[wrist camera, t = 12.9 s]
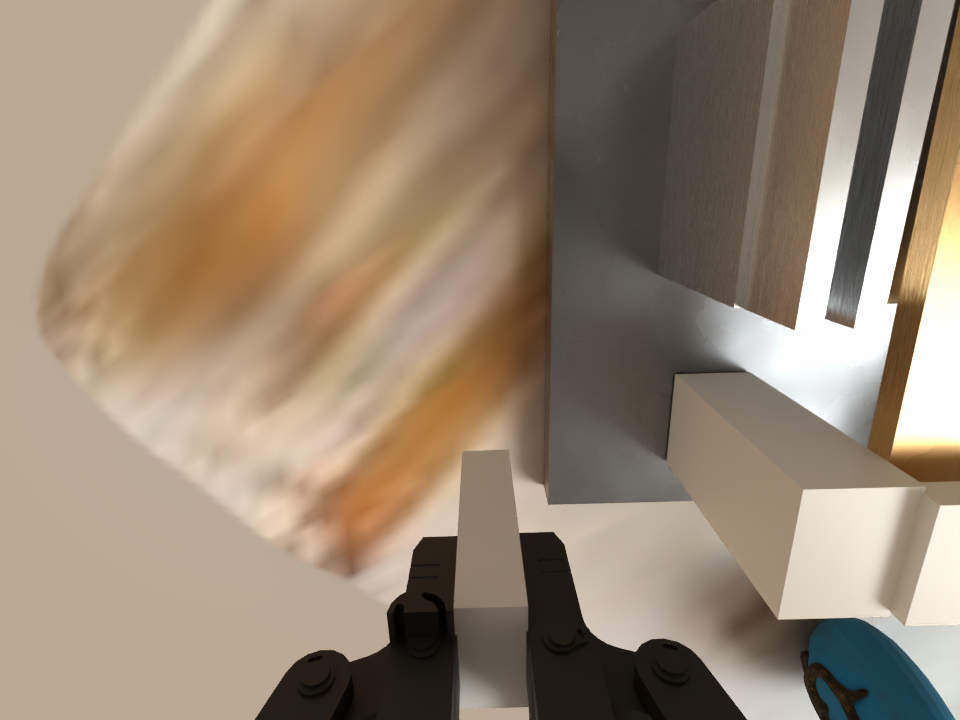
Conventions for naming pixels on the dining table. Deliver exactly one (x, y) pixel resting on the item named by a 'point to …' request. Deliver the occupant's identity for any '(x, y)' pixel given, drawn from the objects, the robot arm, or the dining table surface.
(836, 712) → the ornament
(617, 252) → the base
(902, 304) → the strap
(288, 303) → the dining table surface
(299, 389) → the dining table surface
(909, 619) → the block
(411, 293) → the dining table surface
